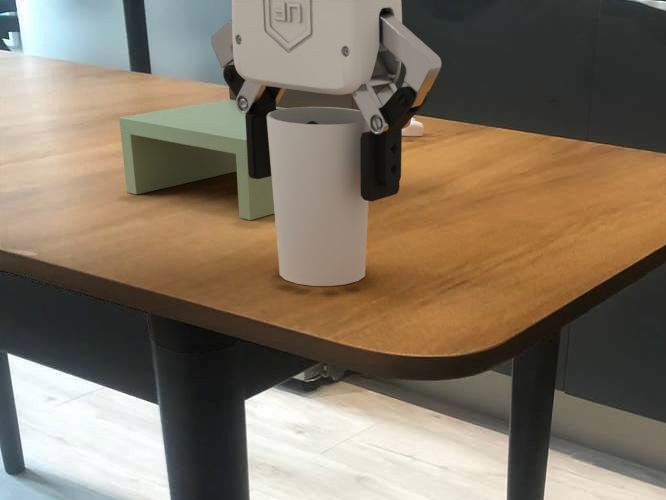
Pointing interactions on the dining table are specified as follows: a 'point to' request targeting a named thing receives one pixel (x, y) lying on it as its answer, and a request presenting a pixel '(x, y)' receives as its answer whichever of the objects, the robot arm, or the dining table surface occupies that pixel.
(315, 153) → the white cup
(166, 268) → the dining table surface
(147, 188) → the desk
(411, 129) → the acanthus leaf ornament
